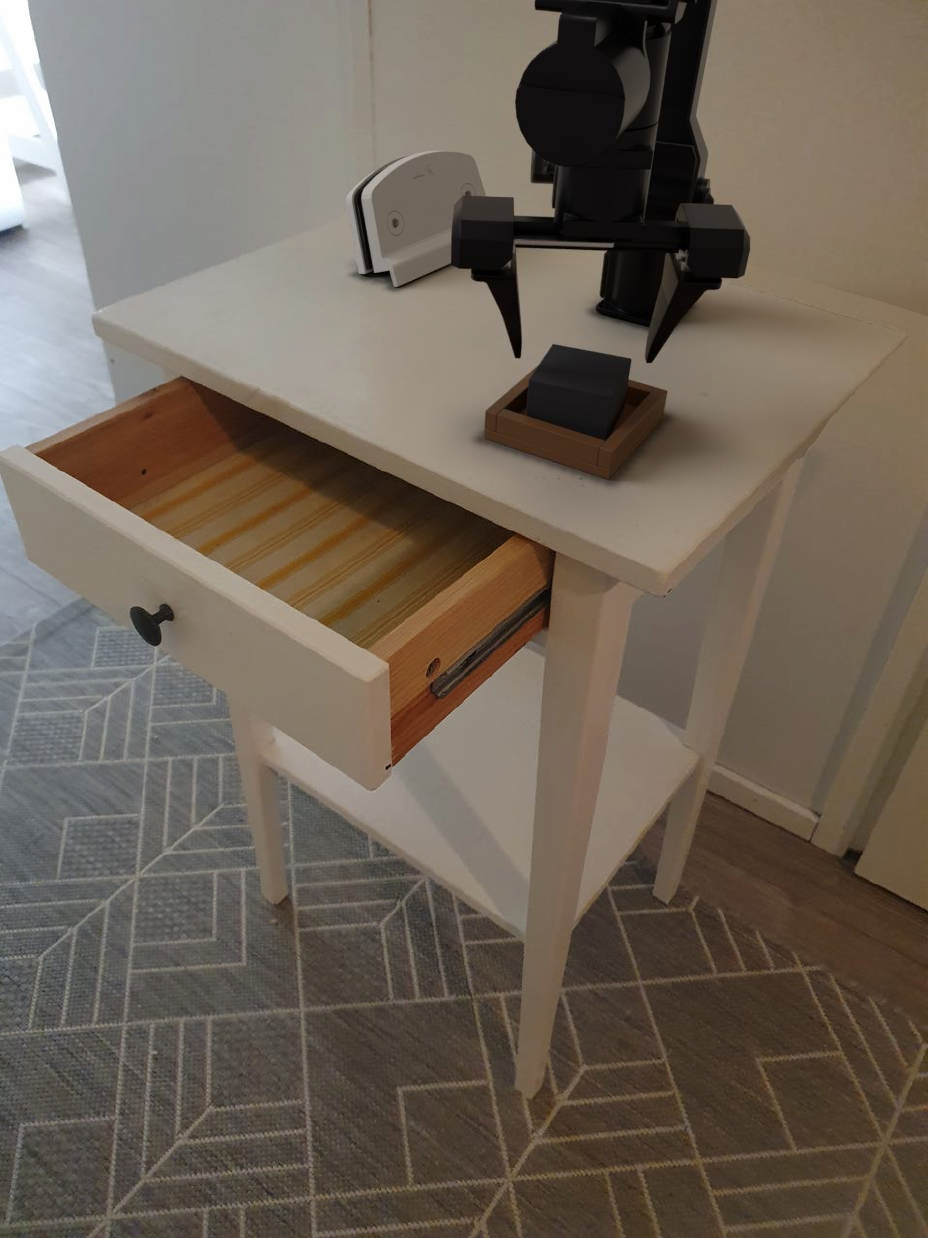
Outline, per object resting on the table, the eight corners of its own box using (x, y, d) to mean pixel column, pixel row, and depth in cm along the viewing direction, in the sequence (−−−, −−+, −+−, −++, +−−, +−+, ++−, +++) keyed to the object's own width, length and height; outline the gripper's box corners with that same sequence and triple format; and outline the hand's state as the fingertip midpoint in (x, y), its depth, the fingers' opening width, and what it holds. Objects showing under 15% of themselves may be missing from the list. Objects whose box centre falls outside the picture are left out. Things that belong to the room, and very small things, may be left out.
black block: (624, 407, 73) (632, 358, 70) (605, 446, 69) (612, 396, 66) (548, 391, 74) (552, 343, 72) (524, 429, 70) (528, 379, 68)
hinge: (395, 287, 90) (364, 172, 85) (361, 290, 93) (330, 179, 88) (507, 238, 99) (485, 131, 95) (473, 242, 102) (450, 139, 98)
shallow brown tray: (663, 417, 74) (668, 390, 72) (608, 479, 67) (612, 451, 66) (545, 382, 77) (548, 355, 76) (483, 438, 71) (484, 410, 69)
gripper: (742, 87, 64) (698, 313, 74) (459, 77, 64) (455, 304, 74) (777, 138, 56) (722, 384, 66) (452, 126, 56) (449, 374, 66)
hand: (582, 358), depth 68 cm, fingers open, 9 cm apart
